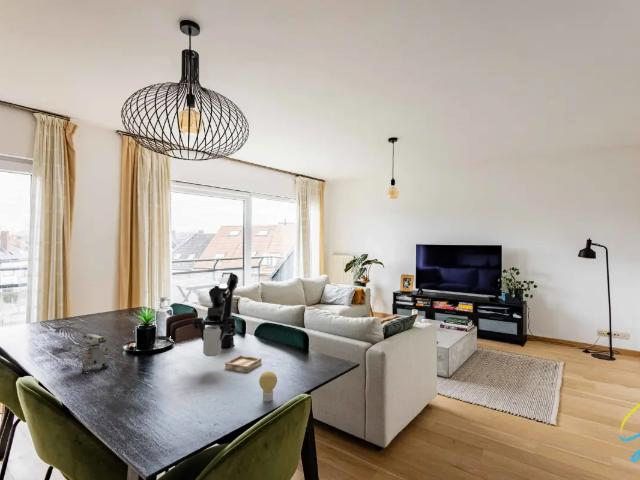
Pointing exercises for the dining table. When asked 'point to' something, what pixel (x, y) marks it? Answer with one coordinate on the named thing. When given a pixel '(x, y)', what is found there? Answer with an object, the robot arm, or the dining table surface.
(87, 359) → the figurine
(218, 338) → the can
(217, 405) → the dining table surface
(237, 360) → the wooden tray
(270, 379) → the light bulb
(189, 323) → the letter holder
